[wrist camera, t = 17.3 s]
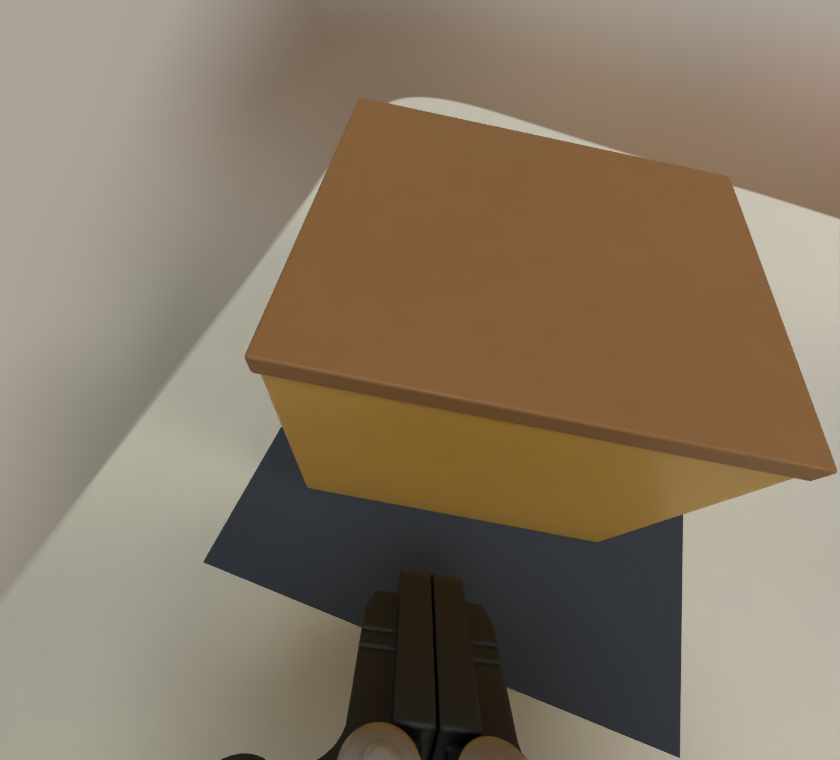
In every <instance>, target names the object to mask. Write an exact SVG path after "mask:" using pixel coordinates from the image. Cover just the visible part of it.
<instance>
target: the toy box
mask: <svg viewBox="0 0 840 760" xmlns="http://www.w3.org/2000/svg"><path fill="white" fill-rule="evenodd" d="M245 359H246V361H247V364H248V366H249V368H250V370H251V371H252V372H253V373H257V374H261V375H262V378H263V380H264V383H265V385H266V388H267V390H268V393H269V395H270V397H271V400H272V402H273V405H274V407H275V410H276V412H277V415H278V417H279V420H280V422H281V424H282V427H283V429H284V432H285V434H286V437H287V439H288V442H289V444H290V447H291V449H292V451H293V454H294V456H295V459H296V461H297V464H298V466H299V469H300V471H301V474H302V476H303V478H304V481H305V483H306V486H307V487H308V488H310V489H316V490H321V491H326V492H332V493H337V494H342V495H348V496H353V497H359V498H364V499H369V500H375V501H380V502H385V503H391V504H396V505H401V506H407V507H412V508H417V509H423V510H428V511H433V512H439V513H444V514H449V515H455V516H460V517H465V518H471V519H476V520H481V521H487V522H492V523H497V524H503V525H508V526H513V527H519V528H524V529H529V530H535V531H540V532H545V533H551V534H556V535H561V536H567V537H572V538H577V539H583V540H588V541H593V542H600V541H603V540H606V539H609V538H612V537H615V536H618V535H621V534H624V533H627V532H630V531H634V530H637V529H640V528H643V527H646V526H649V525H652V524H655V523H658V522H661V521H664V520H667V519H670V518H673V517H676V516H679V515H682V514H685V513H689V512H692V511H695V510H698V509H701V508H704V507H707V506H710V505H713V504H716V503H719V502H722V501H725V500H728V499H731V498H734V497H737V496H741V495H744V494H747V493H750V492H753V491H756V490H759V489H762V488H765V487H768V486H771V485H774V484H777V483H780V482H783V481H786V480H789V479H793V478H797V479H802V480H807V481H812V480H816V479H819V478H822V477H825V476H829V475H832V474H835V473H836V472H837V469H836V466H835V463H834V460H833V458H832V455H831V452H830V450H829V447H828V444H827V441H826V439H825V436H824V433H823V431H822V428H821V425H820V422H819V420H818V417H817V414H816V412H815V409H814V406H813V403H812V401H811V398H810V395H809V392H808V390H807V387H806V384H805V382H804V379H803V376H802V373H801V371H800V368H799V365H798V363H797V360H796V357H795V354H794V352H793V349H792V346H791V344H790V341H789V338H788V335H787V333H786V330H785V327H784V324H783V322H782V319H781V316H780V314H779V311H778V308H777V305H776V303H775V300H774V297H773V295H772V292H771V289H770V286H769V284H768V281H767V278H766V276H765V273H764V270H763V267H762V265H761V262H760V259H759V256H758V254H757V251H756V248H755V246H754V243H753V240H752V237H751V235H750V232H749V229H748V227H747V224H746V221H745V218H744V216H743V213H742V210H741V208H740V205H739V202H738V199H737V197H736V194H735V191H734V189H733V186H732V183H731V180H730V178H729V177H728V176H723V175H719V174H714V173H710V172H705V171H700V170H696V169H691V168H686V167H682V166H677V165H672V164H667V163H663V162H658V161H654V160H649V159H644V158H640V157H635V156H630V155H626V154H621V153H616V152H612V151H607V150H603V149H598V148H593V147H589V146H584V145H579V144H575V143H570V142H565V141H561V140H556V139H551V138H547V137H542V136H537V135H533V134H528V133H523V132H519V131H514V130H509V129H505V128H500V127H495V126H491V125H486V124H481V123H477V122H472V121H467V120H463V119H458V118H453V117H449V116H444V115H439V114H435V113H430V112H425V111H421V110H416V109H411V108H407V107H402V106H397V105H393V104H388V103H384V102H379V101H374V100H369V99H365V98H359V100H358V102H357V104H356V106H355V108H354V111H353V113H352V115H351V118H350V120H349V122H348V124H347V127H346V129H345V131H344V133H343V136H342V138H341V140H340V143H339V145H338V147H337V149H336V152H335V154H334V156H333V158H332V160H331V163H330V165H329V167H328V169H327V172H326V174H325V176H324V178H323V181H322V183H321V185H320V187H319V190H318V192H317V194H316V196H315V199H314V201H313V203H312V205H311V208H310V210H309V212H308V214H307V217H306V219H305V221H304V223H303V226H302V228H301V230H300V232H299V235H298V237H297V239H296V241H295V244H294V246H293V248H292V250H291V253H290V255H289V257H288V259H287V262H286V264H285V266H284V268H283V271H282V273H281V275H280V277H279V280H278V282H277V284H276V286H275V289H274V291H273V293H272V295H271V298H270V300H269V302H268V304H267V307H266V309H265V311H264V313H263V316H262V318H261V320H260V322H259V325H258V327H257V329H256V331H255V334H254V336H253V338H252V340H251V343H250V345H249V347H248V349H247V352H246V354H245Z"/></svg>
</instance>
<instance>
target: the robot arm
mask: <svg viewBox="0 0 840 760" xmlns="http://www.w3.org/2000/svg"><path fill="white" fill-rule="evenodd" d="M221 760H265V759H264V758H262V757H260V756H257V755H254V754H236V755H231V756H229V757H226V758H223V759H221ZM318 760H527V758H526V757H525V756H524V755H523V754H522V752H521V750H520V747H519V744H518V741H517V736H516V732H515V727H514V722H513V717H512V712H511V707H510V703H509V698H508V693H507V688H506V683H505V679H504V674H503V669H502V667H501V659H500V654H499V650H498V649H497V640H496V635H495V630H494V625H493V623H492V621H491V620H490V618H489V617H488V615H487V613H486V612H485V610H484V609H483V607H482V606H481V605H478V604H471V603H465V597H464V590H463V583H462V580H461V579H460V578H454V577H447V576H440V575H433V574H432V575H430V574H425V573H419V572H412V571H405V570H401V572H400V577H399V582H398V587H397V592H396V593H394V592H387V591H380V590H377V591H376V592H375V593H374V595H373V596H372V598H371V599H370V600H369V602H368V603H367V605H366V606H365V612H364V618H363V624H362V630H361V636H360V642H359V647H358V653H357V659H356V665H355V672H354V678H353V684H352V690H351V696H350V703H349V709H348V715H347V721H346V726H345V728H344V731H343V733H342V735H341V737H340V738H339V740H338V741H337V743H336V744H335V745H334V747H333V748H332V749H331V750H329V751H328V752H327V753H326V754H325V755H324V756H322V757H321V758H319V759H318Z"/></svg>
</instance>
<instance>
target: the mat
mask: <svg viewBox="0 0 840 760" xmlns="http://www.w3.org/2000/svg"><path fill="white" fill-rule="evenodd" d="M682 544H683V514H682V515H679V516H676V517H673V518H670V519H667V520H664V521H661V522H658V523H655V524H652V525H649V526H646V527H643V528H640V529H637V530H634V531H630V532H627V533H624V534H621V535H618V536H615V537H612V538H609V539H606V540H603V541H600V542H593V541H588V540H583V539H577V538H572V537H567V536H561V535H556V534H551V533H545V532H540V531H535V530H529V529H524V528H519V527H513V526H508V525H503V524H497V523H492V522H487V521H481V520H476V519H471V518H465V517H460V516H455V515H449V514H444V513H439V512H433V511H428V510H423V509H417V508H412V507H407V506H401V505H396V504H391V503H385V502H380V501H375V500H369V499H364V498H359V497H353V496H348V495H342V494H337V493H332V492H326V491H321V490H316V489H310V488H308V487H307V486H306V483H305V481H304V478H303V476H302V474H301V471H300V469H299V466H298V464H297V461H296V459H295V456H294V454H293V451H292V449H291V447H290V444H289V442H288V439H287V437H286V434H285V432H284V429H283V427H281V428H280V430H279V432H278V434H277V435H276V437H275V439H274V441H273V442H272V444H271V446H270V448H269V449H268V451H267V453H266V454H265V456H264V458H263V460H262V461H261V463H260V465H259V467H258V468H257V470H256V472H255V474H254V475H253V477H252V479H251V480H250V482H249V484H248V486H247V487H246V489H245V491H244V493H243V494H242V496H241V498H240V500H239V501H238V503H237V505H236V506H235V508H234V510H233V512H232V513H231V515H230V517H229V519H228V520H227V522H226V524H225V526H224V527H223V529H222V531H221V532H220V534H219V536H218V538H217V539H216V541H215V543H214V545H213V546H212V548H211V550H210V552H209V553H208V555H207V557H206V558H205V560H204V562H205V563H207V564H209V565H212V566H214V567H217V568H219V569H222V570H224V571H226V572H229V573H231V574H234V575H236V576H239V577H241V578H243V579H246V580H248V581H251V582H253V583H256V584H258V585H260V586H263V587H265V588H268V589H270V590H273V591H275V592H278V593H280V594H282V595H285V596H287V597H290V598H292V599H295V600H297V601H299V602H302V603H304V604H307V605H309V606H312V607H314V608H316V609H319V610H321V611H324V612H326V613H329V614H331V615H333V616H336V617H338V618H341V619H343V620H346V621H348V622H351V623H353V624H355V625H358V626H360V627H362V624H363V618H364V612H365V606H366V605H367V603H368V602H369V600H370V599H371V598H372V596H373V595H374V593H375V592H376V591H377V590H380V591H387V592H394V593H396V592H397V587H398V582H399V577H400V572H401V570H405V571H412V572H419V573H425V574H430V575H432V574H433V575H440V576H447V577H454V578H460V579H461V580H462V583H463V590H464V597H465V603H471V604H478V605H481V606H482V607H483V609H484V610H485V612H486V613H487V615H488V617H489V618H490V620H491V621H492V623H493V625H494V630H495V635H496V640H497V649H498V650H499V654H500V659H501V667H502V669H503V674H504V679H505V683H506V687H509V688H511V689H514V690H516V691H518V692H521V693H523V694H526V695H528V696H531V697H533V698H535V699H538V700H540V701H543V702H545V703H548V704H550V705H552V706H555V707H557V708H560V709H562V710H565V711H567V712H570V713H572V714H574V715H577V716H579V717H582V718H584V719H587V720H589V721H591V722H594V723H596V724H599V725H601V726H604V727H606V728H608V729H611V730H613V731H616V732H618V733H621V734H623V735H625V736H628V737H630V738H633V739H635V740H638V741H640V742H643V743H645V744H647V745H650V746H652V747H655V748H657V749H660V750H662V751H664V752H667V753H669V754H672V755H674V756H677V757H680V695H681V619H682Z"/></svg>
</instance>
